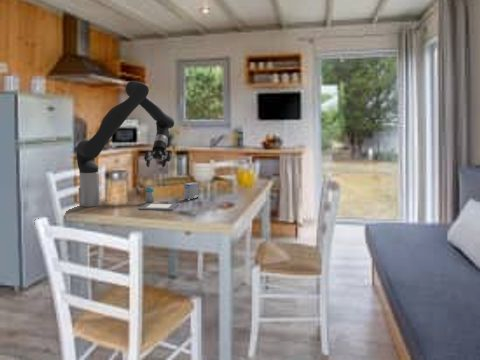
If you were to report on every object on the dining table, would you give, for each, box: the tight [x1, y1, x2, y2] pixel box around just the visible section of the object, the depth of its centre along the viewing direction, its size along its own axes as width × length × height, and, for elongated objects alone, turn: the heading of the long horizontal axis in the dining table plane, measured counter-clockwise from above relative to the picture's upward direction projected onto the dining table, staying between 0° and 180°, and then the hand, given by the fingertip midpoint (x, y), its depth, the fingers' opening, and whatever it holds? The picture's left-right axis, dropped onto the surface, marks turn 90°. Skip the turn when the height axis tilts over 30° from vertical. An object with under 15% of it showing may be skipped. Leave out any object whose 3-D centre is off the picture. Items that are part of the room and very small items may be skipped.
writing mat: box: [138, 202, 179, 211], centre depth 231 cm, size 17×13×1 cm
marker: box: [145, 186, 155, 204], centre depth 243 cm, size 4×4×8 cm
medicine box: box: [183, 182, 200, 200], centre depth 254 cm, size 8×4×9 cm, turn 144°
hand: (155, 166), depth 253 cm, fingers open, 8 cm apart
